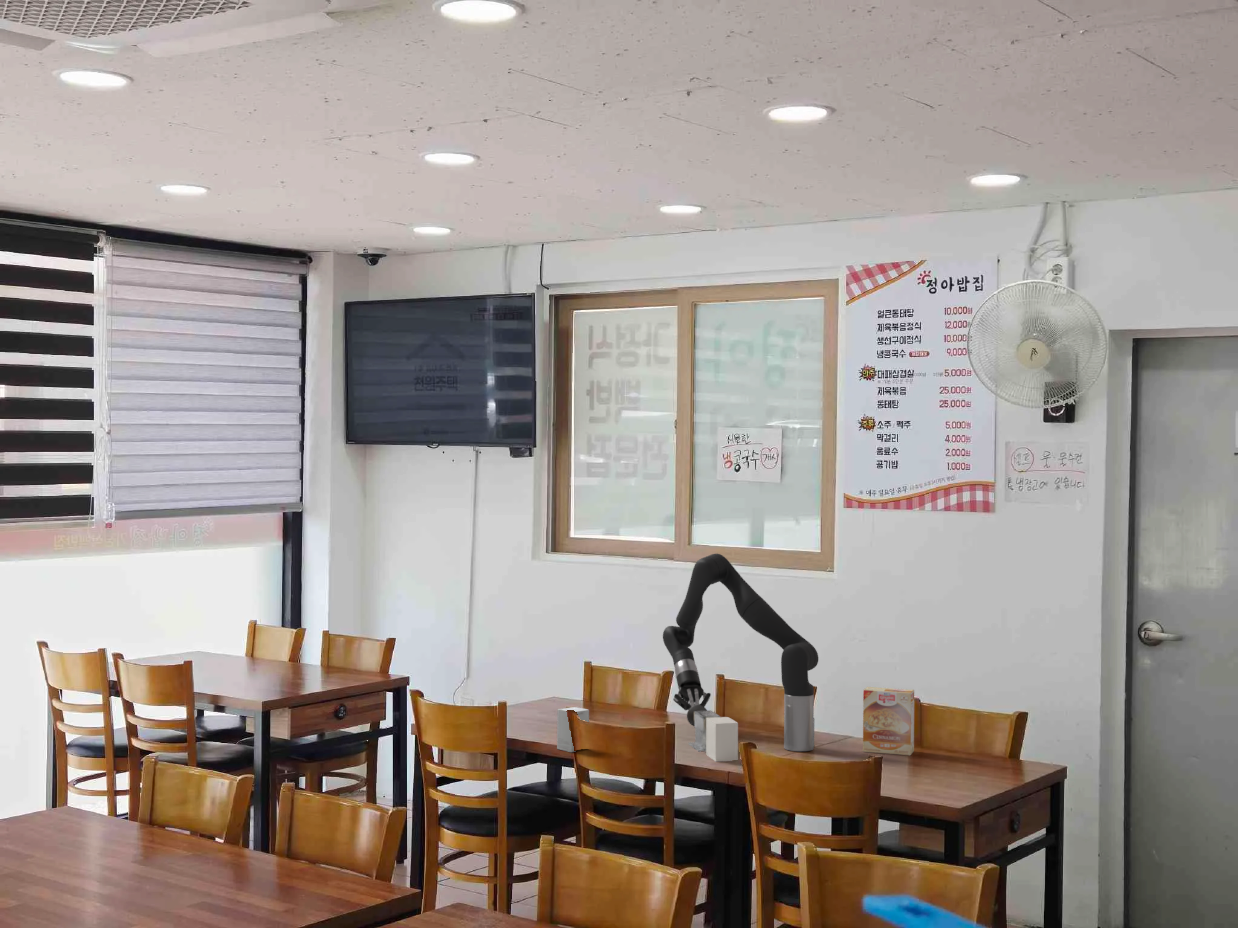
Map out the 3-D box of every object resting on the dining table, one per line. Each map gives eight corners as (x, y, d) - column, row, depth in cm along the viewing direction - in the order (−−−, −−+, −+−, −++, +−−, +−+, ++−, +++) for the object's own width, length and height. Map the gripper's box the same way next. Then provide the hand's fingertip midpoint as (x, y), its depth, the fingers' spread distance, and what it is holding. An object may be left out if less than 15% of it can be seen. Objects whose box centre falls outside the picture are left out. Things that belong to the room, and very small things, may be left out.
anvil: (688, 743, 439) (688, 710, 439) (715, 742, 441) (715, 709, 441) (698, 751, 428) (698, 717, 428) (726, 750, 430) (726, 716, 430)
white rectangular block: (706, 754, 423) (706, 717, 423) (727, 753, 425) (728, 716, 425) (715, 761, 413) (715, 723, 413) (737, 760, 415) (737, 722, 415)
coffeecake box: (862, 751, 429) (862, 689, 429) (866, 747, 435) (866, 686, 435) (911, 755, 423) (911, 692, 423) (914, 751, 430) (914, 688, 430)
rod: (686, 726, 445) (686, 705, 445) (707, 725, 446) (707, 704, 446) (706, 740, 422) (706, 717, 422) (728, 739, 424) (728, 716, 424)
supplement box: (571, 752, 425) (571, 711, 425) (556, 748, 431) (556, 708, 431) (589, 749, 430) (589, 709, 430) (574, 745, 435) (574, 706, 435)
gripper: (670, 669, 454) (679, 713, 442) (708, 668, 457) (719, 711, 445) (666, 683, 459) (675, 726, 447) (704, 681, 462) (714, 725, 450)
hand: (697, 719), depth 446 cm, fingers closed
